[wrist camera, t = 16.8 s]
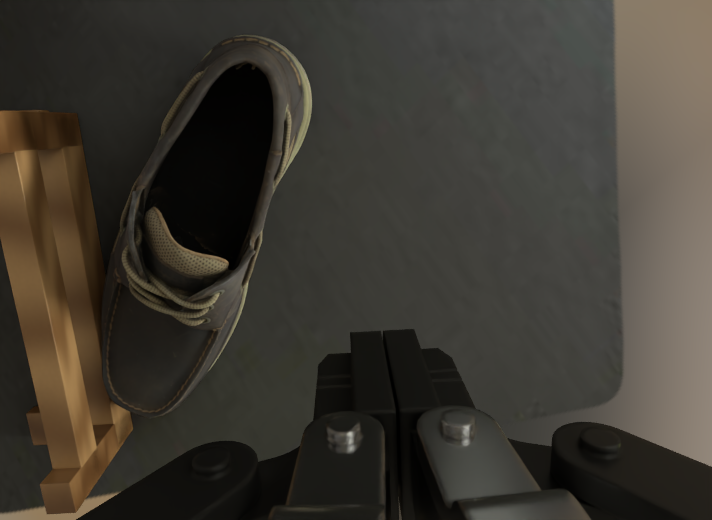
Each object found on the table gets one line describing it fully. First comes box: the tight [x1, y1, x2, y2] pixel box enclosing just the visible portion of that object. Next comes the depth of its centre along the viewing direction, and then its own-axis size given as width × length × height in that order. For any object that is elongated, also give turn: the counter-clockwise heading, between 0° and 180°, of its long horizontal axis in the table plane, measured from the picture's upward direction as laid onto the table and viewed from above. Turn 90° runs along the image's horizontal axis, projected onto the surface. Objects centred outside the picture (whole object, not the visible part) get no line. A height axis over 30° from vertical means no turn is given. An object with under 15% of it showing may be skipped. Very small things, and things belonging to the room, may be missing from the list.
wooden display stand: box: [0, 110, 133, 514], centre depth 36 cm, size 27×8×10 cm, turn 3°
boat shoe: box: [101, 35, 312, 418], centre depth 35 cm, size 11×29×11 cm, turn 159°
